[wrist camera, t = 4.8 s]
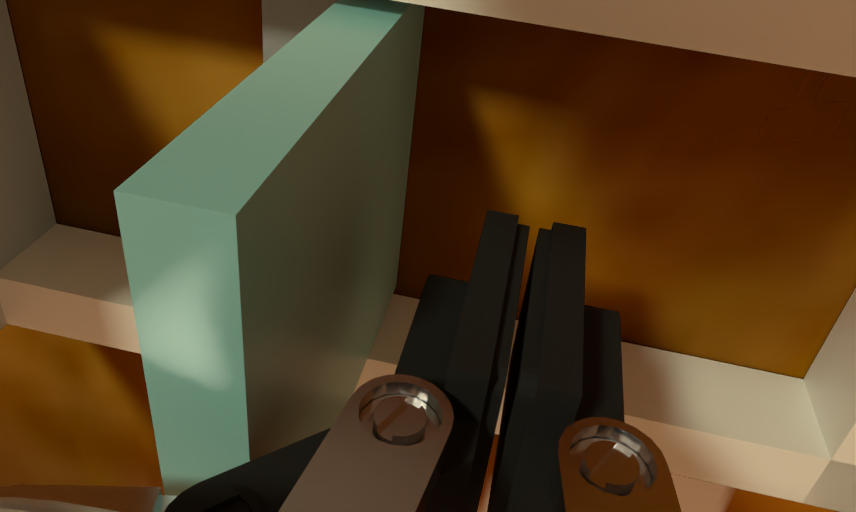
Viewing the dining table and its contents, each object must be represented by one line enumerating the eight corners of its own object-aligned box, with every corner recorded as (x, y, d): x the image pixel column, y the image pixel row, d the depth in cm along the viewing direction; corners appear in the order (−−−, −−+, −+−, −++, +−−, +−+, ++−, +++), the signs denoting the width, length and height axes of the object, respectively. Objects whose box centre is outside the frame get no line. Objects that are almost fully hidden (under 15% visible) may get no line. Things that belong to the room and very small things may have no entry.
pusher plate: (426, -16, 14) (235, 214, 6) (396, 285, 18) (258, 631, 11) (280, -40, 14) (-62, 155, 7) (283, 261, 18) (75, 582, 11)
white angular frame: (1113, -18, 12) (1987, 323, 4) (827, 432, 18) (987, 883, 11) (-94, -198, 14) (-872, -172, 7) (27, 259, 20) (-299, 534, 13)
